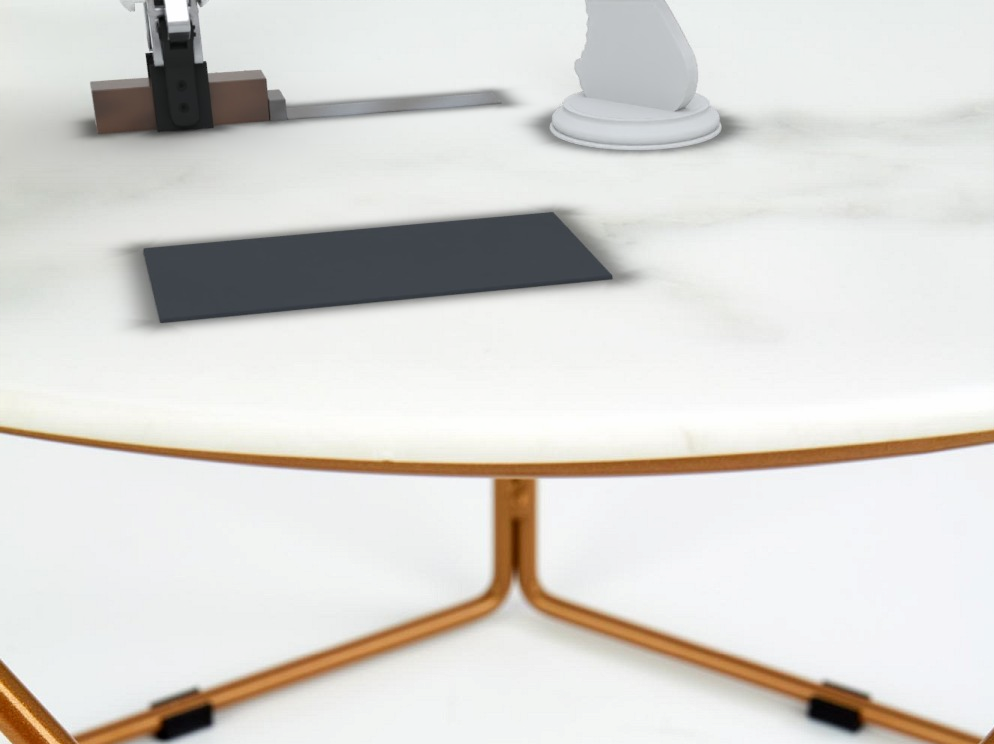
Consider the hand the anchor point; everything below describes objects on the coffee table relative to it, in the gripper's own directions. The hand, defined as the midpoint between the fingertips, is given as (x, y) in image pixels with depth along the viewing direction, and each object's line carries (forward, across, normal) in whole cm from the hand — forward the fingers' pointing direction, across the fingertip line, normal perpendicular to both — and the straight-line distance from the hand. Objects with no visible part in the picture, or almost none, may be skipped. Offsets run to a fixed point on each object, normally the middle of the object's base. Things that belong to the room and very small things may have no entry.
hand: (183, 126), depth 101 cm
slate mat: (0, +29, +6) cm, 30 cm away
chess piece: (0, +9, +25) cm, 27 cm away
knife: (0, 0, +6) cm, 6 cm away
